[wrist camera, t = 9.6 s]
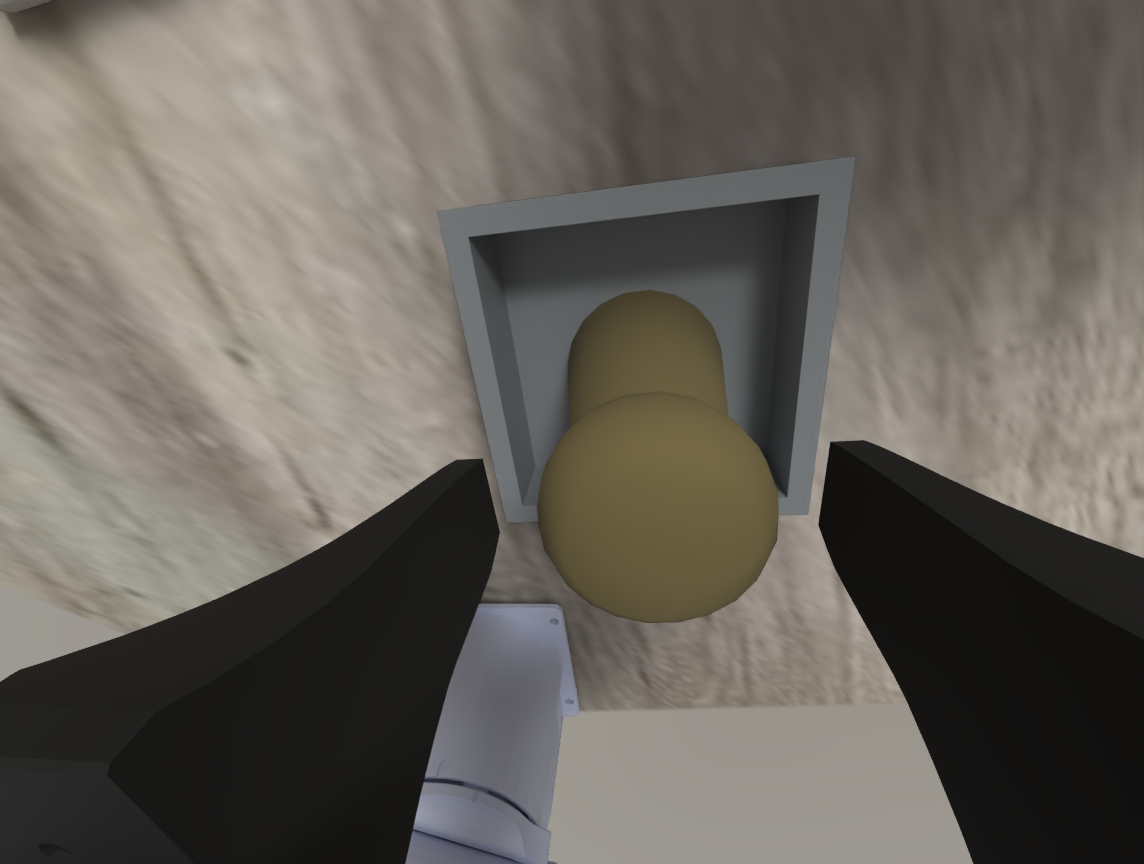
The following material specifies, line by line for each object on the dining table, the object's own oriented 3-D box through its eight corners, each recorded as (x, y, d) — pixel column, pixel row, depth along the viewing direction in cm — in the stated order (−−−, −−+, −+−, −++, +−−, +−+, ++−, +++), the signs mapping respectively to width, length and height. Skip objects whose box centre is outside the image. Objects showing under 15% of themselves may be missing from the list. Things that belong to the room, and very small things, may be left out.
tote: (780, 464, 21) (807, 514, 18) (523, 474, 22) (506, 522, 19) (809, 162, 16) (855, 156, 12) (472, 206, 17) (436, 211, 14)
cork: (549, 407, 20) (472, 616, 10) (597, 266, 17) (554, 370, 7) (682, 453, 20) (729, 698, 11) (750, 322, 17) (901, 492, 8)
